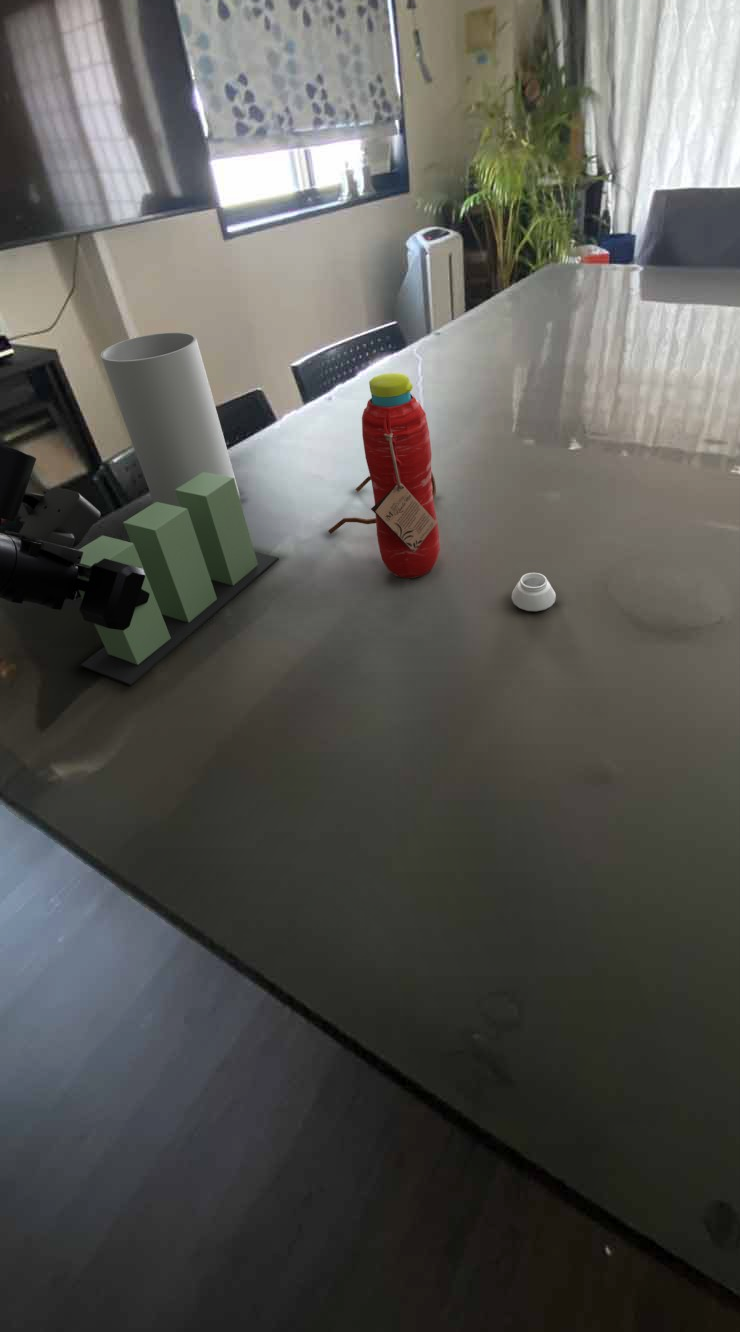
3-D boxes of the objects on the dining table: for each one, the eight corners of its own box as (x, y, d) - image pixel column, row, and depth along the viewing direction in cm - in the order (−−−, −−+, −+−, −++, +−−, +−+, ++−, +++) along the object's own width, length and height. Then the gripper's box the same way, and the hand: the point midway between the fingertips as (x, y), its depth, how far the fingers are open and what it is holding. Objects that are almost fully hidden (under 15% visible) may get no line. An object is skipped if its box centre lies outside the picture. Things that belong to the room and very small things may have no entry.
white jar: (524, 583, 83) (504, 606, 79) (524, 563, 81) (503, 585, 78) (562, 595, 80) (543, 618, 77) (563, 574, 78) (543, 598, 75)
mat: (130, 685, 74) (130, 683, 73) (81, 666, 77) (80, 664, 77) (279, 559, 92) (278, 557, 92) (233, 548, 95) (233, 546, 95)
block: (137, 665, 76) (94, 567, 68) (107, 654, 78) (63, 558, 71) (171, 638, 79) (133, 543, 72) (141, 628, 81) (102, 535, 74)
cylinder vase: (252, 487, 110) (211, 330, 96) (222, 528, 100) (170, 359, 86) (181, 488, 112) (130, 334, 98) (144, 528, 102) (81, 363, 88)
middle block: (188, 622, 81) (154, 530, 74) (158, 613, 84) (122, 522, 76) (217, 599, 85) (187, 508, 78) (187, 590, 87) (156, 501, 80)
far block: (233, 585, 87) (205, 496, 80) (204, 577, 89) (174, 489, 82) (258, 565, 91) (233, 477, 83) (229, 557, 93) (203, 471, 85)
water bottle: (440, 601, 81) (421, 399, 67) (374, 603, 82) (341, 404, 68) (445, 546, 91) (429, 360, 77) (386, 548, 92) (359, 364, 78)
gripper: (91, 495, 59) (213, 538, 73) (-37, 466, 66) (95, 509, 81) (50, 621, 58) (182, 639, 72) (-75, 575, 65) (66, 600, 80)
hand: (129, 592), depth 76 cm, fingers closed on block, 5 cm apart
